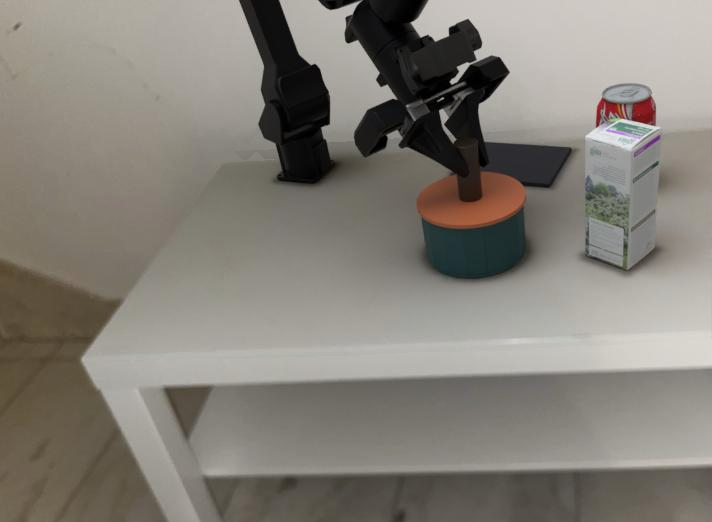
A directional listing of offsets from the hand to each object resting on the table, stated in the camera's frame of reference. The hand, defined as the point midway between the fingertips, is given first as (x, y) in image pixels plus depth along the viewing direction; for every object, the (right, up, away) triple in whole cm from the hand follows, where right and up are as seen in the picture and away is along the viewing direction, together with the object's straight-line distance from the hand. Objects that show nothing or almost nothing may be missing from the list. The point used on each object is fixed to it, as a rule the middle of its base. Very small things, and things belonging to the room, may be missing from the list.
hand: (476, 170), depth 82 cm
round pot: (0, -8, +7) cm, 11 cm away
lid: (0, -3, +3) cm, 4 cm away
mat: (+6, +6, +24) cm, 25 cm away
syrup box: (+16, -9, +4) cm, 19 cm away
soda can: (+20, +2, +16) cm, 25 cm away
